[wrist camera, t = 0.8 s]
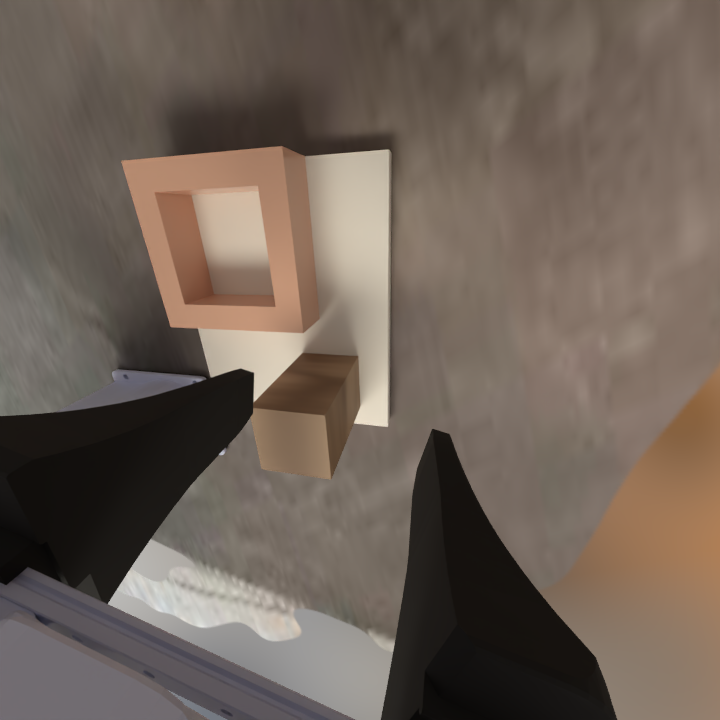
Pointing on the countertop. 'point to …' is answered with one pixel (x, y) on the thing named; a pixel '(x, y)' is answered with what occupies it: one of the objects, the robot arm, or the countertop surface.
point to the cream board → (333, 275)
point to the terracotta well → (185, 249)
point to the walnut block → (308, 415)
